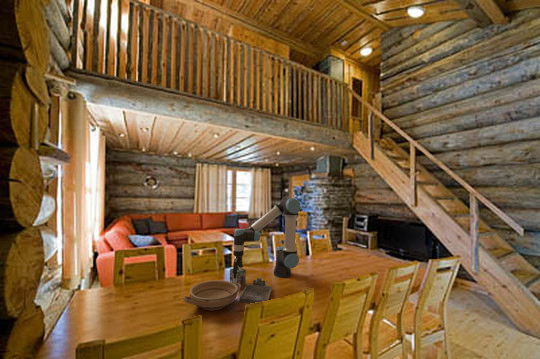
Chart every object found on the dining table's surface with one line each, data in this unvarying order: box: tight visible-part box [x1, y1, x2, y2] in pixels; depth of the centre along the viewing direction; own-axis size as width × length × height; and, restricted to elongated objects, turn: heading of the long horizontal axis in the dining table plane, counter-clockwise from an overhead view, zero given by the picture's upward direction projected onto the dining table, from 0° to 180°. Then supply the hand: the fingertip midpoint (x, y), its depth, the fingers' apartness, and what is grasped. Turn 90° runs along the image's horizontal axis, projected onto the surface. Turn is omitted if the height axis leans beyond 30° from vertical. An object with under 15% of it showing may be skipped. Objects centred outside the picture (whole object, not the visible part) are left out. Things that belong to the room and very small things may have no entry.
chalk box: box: [229, 267, 247, 288], centre depth 180 cm, size 9×9×15 cm
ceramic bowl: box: [182, 279, 242, 312], centre depth 148 cm, size 37×29×10 cm
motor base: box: [238, 277, 273, 304], centre depth 164 cm, size 23×18×8 cm
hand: (237, 279), depth 180 cm, fingers open, 13 cm apart
